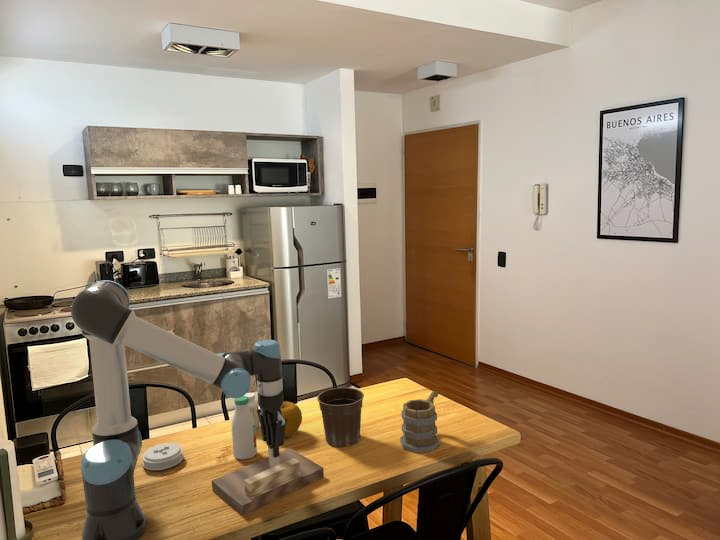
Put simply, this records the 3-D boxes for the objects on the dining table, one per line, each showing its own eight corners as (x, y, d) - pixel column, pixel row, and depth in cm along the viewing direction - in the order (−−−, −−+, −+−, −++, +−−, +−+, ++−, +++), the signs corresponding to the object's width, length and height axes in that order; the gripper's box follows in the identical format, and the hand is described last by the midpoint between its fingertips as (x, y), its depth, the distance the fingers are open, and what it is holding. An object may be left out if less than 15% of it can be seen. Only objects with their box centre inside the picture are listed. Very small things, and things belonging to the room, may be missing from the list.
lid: (186, 451, 183) (185, 438, 182) (180, 470, 171) (178, 456, 170) (147, 455, 181) (146, 442, 180) (138, 475, 169) (137, 460, 168)
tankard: (426, 456, 174) (425, 413, 171) (394, 446, 181) (392, 404, 179) (454, 433, 189) (454, 393, 187) (423, 424, 197) (423, 386, 195)
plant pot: (313, 448, 182) (310, 403, 179) (327, 427, 197) (325, 386, 195) (359, 452, 178) (357, 406, 176) (369, 430, 193) (368, 388, 191)
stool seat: (242, 515, 145) (242, 505, 145) (212, 489, 158) (211, 480, 158) (323, 476, 163) (323, 467, 163) (290, 456, 177) (289, 447, 176)
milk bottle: (251, 461, 175) (247, 403, 172) (229, 459, 176) (225, 402, 173) (260, 449, 182) (256, 394, 179) (239, 448, 184) (235, 393, 181)
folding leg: (250, 497, 148) (249, 484, 147) (244, 493, 150) (244, 479, 150) (300, 474, 159) (299, 461, 159) (294, 470, 161) (293, 458, 161)
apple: (269, 445, 185) (267, 414, 184) (265, 429, 198) (263, 400, 196) (305, 439, 189) (304, 408, 187) (299, 424, 201) (298, 395, 199)
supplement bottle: (252, 422, 204) (249, 390, 202) (263, 426, 200) (261, 393, 198) (238, 428, 199) (235, 395, 197) (249, 433, 195) (247, 399, 193)
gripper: (247, 389, 161) (252, 462, 165) (272, 401, 152) (276, 478, 155) (268, 383, 166) (272, 453, 170) (293, 393, 157) (297, 468, 160)
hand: (274, 465), depth 163 cm, fingers closed
